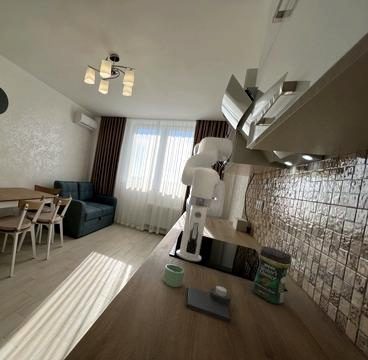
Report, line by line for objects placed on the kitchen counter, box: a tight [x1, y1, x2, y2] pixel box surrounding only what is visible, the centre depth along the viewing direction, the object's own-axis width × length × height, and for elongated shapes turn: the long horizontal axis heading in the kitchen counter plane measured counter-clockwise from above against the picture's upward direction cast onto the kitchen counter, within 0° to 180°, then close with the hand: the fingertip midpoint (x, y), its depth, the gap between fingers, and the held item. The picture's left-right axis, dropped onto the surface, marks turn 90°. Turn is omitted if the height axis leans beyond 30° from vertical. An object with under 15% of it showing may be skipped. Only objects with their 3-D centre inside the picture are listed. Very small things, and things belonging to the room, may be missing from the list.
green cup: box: [162, 263, 186, 288], centre depth 79 cm, size 7×7×6 cm
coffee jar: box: [251, 245, 292, 305], centre depth 80 cm, size 10×8×19 cm
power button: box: [215, 285, 228, 297], centre depth 71 cm, size 3×3×2 cm
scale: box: [186, 285, 232, 323], centre depth 69 cm, size 13×13×3 cm
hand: (190, 252), depth 77 cm, fingers closed
